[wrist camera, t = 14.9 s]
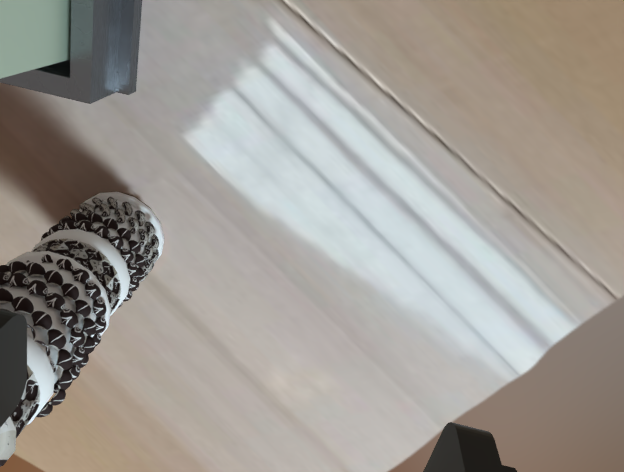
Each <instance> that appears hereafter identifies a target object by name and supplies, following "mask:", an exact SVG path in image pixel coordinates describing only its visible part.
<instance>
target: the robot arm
mask: <svg viewBox="0 0 624 472" xmlns="http://www.w3.org/2000/svg"><path fill="white" fill-rule="evenodd" d="M26 381H27V321H26V318H25V316H24V315H22V314H18V313H14V312H10V311H6V310H2V309H0V428H1V426H2V425H3V424H4V423H5V421H6V420H7V419H8V418H9V417H10V415H11V414H12V413H13V412H14V410H15V409H16V407H17V405H18V404H19V402H20V400H21V398H22V395H23V393H24V390H25V386H26ZM423 472H517V471H516V469H515V468H511V467H508V466H503V465H501V461H500V458H499V454H498V451H497V448H496V444H495V440H494V438H493V436H492V434H491V433H490V432H488V431H484V430H479V429H476V428H471V427H468V426H464V425H460V424H456V423H452V422H450V423H448V424H447V425H446V426H445V427H444V429H443V431H442V433H441V436H440V438H439V440H438V442H437V444H436V446H435V448H434V450H433V452H432V455H431V457H430V459H429V461H428V463H427V465H426V467H425V469H424V471H423Z"/></svg>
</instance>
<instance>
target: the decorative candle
mask: <svg viewBox="0 0 624 472" xmlns="http://www.w3.org/2000/svg"><path fill="white" fill-rule="evenodd" d="M71 215H72V219H71V218H70V217H69V216H66V217H64V218H63V219H61V220H60V222H59V224H57V225H55V226H53V227H51V228H50V229H49V232H46V233H45V234H44V235H43V236H42V238H41V241H40V242H39V243H38V244H37V245H35V247H34V249H33V250H32V252H26V253H24V254H22V255H20V256H18V257H17V258H15V259H13V260H11V261H9V262H8V263H7V264H6V265H1V266H0V309H2V310H6V311H10V312H14V313H18V314H22V315H24V316H25V318H26V321H27V381H26V386H25V390H24V393H23V395H22V398H21V400H20V402H19V404H18V405H17V407H16V409H15V410H14V412H13V413H12V414H11V415H10V417H9V418H8V419H7V420H6V421H5V423H4V424H3V425H2V426H1V428H0V466H3V465H4V464H5V462H6V461H7V460H8V458H10V456H11V455H12V454H13V453H14V451H15V445H16V438H17V437H18V435H19V434H20V433H21V431H22V430H23V429H24V427H25V426H26V425H27V424H30V423H31V422H32V421H33V420H34V418H35V417H44V416H47V415H48V414H49V413H50V412H51V411H52V409H53V406H52V405H58V404H60V403H61V402H62V401H63V400H64V399H65V396H66V393H65V390H66V389H67V388H68V387H69V386H70V385H71V383H72V381H73V380H75V379H76V378H77V377H78V376H79V374H80V368H82V367H84V366H85V365H86V364H87V362H88V359H89V357H88V354H89V353H91V352H92V351H93V350H94V348H95V346H97V345H98V344H99V343H100V341H101V335H102V334H103V333H104V331H105V330H106V329H107V328H108V326H109V320H110V316H111V315H112V314H113V313H114V312H115V310H116V309H117V308H119V307H120V306H121V305H122V303H123V301H128V300H129V299H130V298H131V297H132V291H135V290H137V289H138V287H139V282H142V281H143V280H144V279H145V278H146V277H147V275H148V272H150V271H151V270H152V268H153V266H154V263H155V262H156V261H157V259H158V258H159V257H160V255H161V254H162V249H163V244H164V235H163V231H162V227H161V223H160V222H159V220H158V219H157V217H156V216H155V214H154V213H153V211H152V210H151V209H150V208H149V207H148V206H146V205H145V204H144V203H142V202H141V201H140V200H138V199H137V198H135V197H133V196H130V195H126V194H123V193H120V192H105V193H99V194H97V195H95V196H93V197H91V198H90V199H88V200H86V201H85V202H84V203H81V204H80V209H79V210H77V209H74V210H72V211H71ZM59 378H60V379H59ZM53 392H54V393H56V394H55V396H54V397H53V398H52V399H51V401H50V402H47V401H48V400H49V399H50V397H51V396H52V395H53Z"/></svg>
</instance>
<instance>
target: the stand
mask: <svg viewBox="0 0 624 472" xmlns="http://www.w3.org/2000/svg"><path fill="white" fill-rule="evenodd" d="M141 7H142V0H71V50H70V60H66V61H63V62H59V63H55V64H52V65H48V66H44V67H41V68H37V69H33V70H30V71H26V72H22V73H19V74H15V75H12V76H8V77H4V78H1V79H0V82H1V83H5V84H9V85H14V86H18V87H22V88H26V89H30V90H34V91H39V92H43V93H47V94H51V95H55V96H59V97H64V98H68V99H72V100H76V101H80V102H84V103H89V104H91V103H93V102H95V101H98V100H100V99H102V98H104V97H106V96H109V95H111V94H113V93H115V92H118V93H122V94H126V95H129V94H131V93H133V92H136V79H137V64H138V50H139V36H140V21H141Z"/></svg>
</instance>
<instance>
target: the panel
mask: <svg viewBox="0 0 624 472" xmlns="http://www.w3.org/2000/svg"><path fill="white" fill-rule="evenodd" d="M70 50H71V0H0V79H1V78H4V77H8V76H12V75H15V74H19V73H22V72H26V71H30V70H33V69H37V68H41V67H44V66H48V65H52V64H55V63H59V62H63V61H66V60H70Z"/></svg>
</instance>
